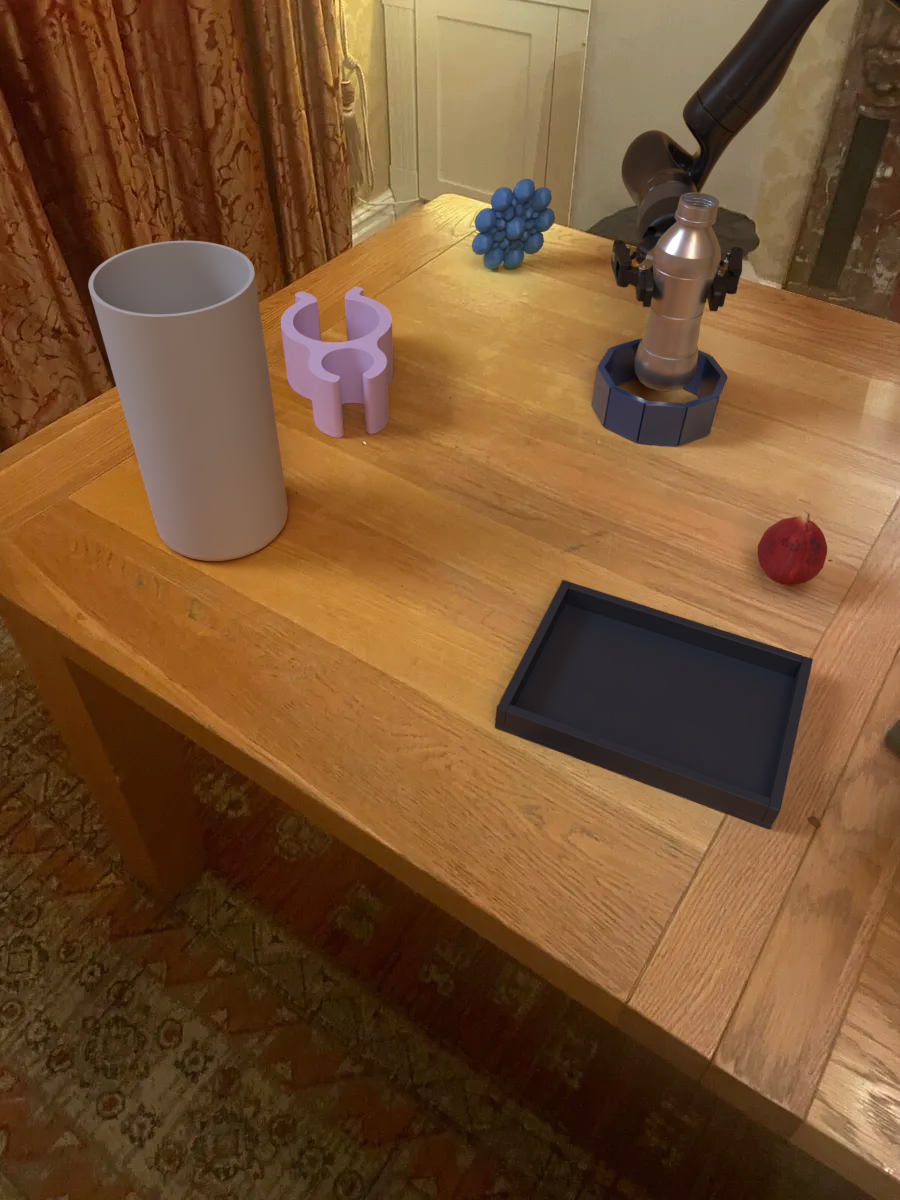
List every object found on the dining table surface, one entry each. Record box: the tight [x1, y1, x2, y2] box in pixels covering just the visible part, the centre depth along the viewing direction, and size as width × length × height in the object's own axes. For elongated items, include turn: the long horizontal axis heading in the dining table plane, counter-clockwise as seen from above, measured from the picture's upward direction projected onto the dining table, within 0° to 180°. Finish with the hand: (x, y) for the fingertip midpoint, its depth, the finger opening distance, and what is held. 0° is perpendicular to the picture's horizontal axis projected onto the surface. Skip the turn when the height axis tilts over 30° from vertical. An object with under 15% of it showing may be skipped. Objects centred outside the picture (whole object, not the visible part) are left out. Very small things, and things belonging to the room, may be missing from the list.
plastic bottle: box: [635, 192, 722, 392], centre depth 93 cm, size 6×7×20 cm
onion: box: [756, 510, 828, 586], centre depth 81 cm, size 6×6×8 cm
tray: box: [494, 579, 814, 830], centre depth 73 cm, size 22×16×3 cm
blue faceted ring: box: [591, 338, 729, 448], centre depth 101 cm, size 14×14×5 cm
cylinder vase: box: [87, 240, 289, 562], centre depth 79 cm, size 12×12×25 cm
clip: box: [280, 286, 394, 439], centre depth 103 cm, size 20×12×7 cm, turn 12°
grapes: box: [471, 178, 556, 270], centre depth 123 cm, size 12×7×12 cm, turn 106°
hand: (682, 300), depth 91 cm, fingers closed on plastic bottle, 6 cm apart
